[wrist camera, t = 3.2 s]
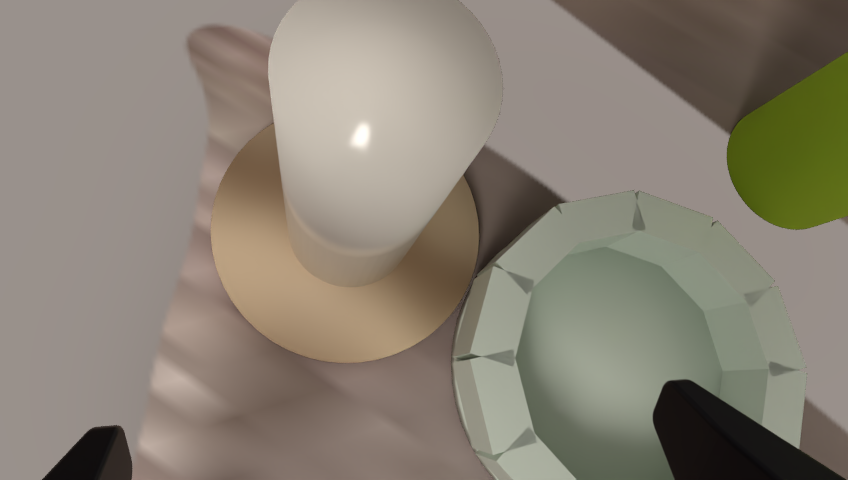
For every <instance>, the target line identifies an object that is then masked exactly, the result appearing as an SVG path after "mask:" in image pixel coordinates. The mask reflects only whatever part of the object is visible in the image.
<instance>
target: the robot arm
mask: <svg viewBox="0 0 848 480" xmlns="http://www.w3.org/2000/svg"><path fill="white" fill-rule="evenodd" d="M653 425H654V428H655V430H656V433H657V436H658V438H659V441H660V443H661V446H662V449H663V451H664V454H665V456H666V459H667V462H668V464H669V467H670V469H671V472H672V475H673V477H674V480H846V479H844V478H843V477H841V476H840V475H838V474H837V473H835V472H834V471H832V470H830V469H829V468H827V467H826V466H824V465H823V464H821V463H819V462H818V461H816V460H815V459H813V458H812V457H810V456H809V455H807V454H805V453H804V452H802V451H801V450H799V449H798V448H796V447H795V446H793V445H791V444H790V443H788V442H787V441H785V440H784V439H782V438H781V437H779V436H777V435H776V434H774V433H773V432H771V431H770V430H768V429H767V428H765V427H763V426H762V425H760V424H759V423H757V422H756V421H754V420H752V419H751V418H749V417H748V416H746V415H745V414H743V413H742V412H740V411H738V410H737V409H735V408H734V407H732V406H731V405H729V404H728V403H726V402H724V401H723V400H721V399H720V398H718V397H717V396H715V395H714V394H712V393H710V392H709V391H707V390H706V389H704V388H703V387H701V386H699V385H698V384H696V383H695V382H693V381H691V380H688V379H679V380H669V381H667V382H666V383H665V384H664V385H663V387H662V390H661V392H660V395H659V397H658V400H657V403H656V405H655V408H654V410H653ZM131 479H132V460H131V456H130V452H129V448H128V445H127V441H126V437H125V433H124V430H123V429H122V427H121V426H117V425H114V426H101V427H94V428H92V429H90V430H89V431H88V432H87V433H86V434H84V436H83V437H82V438H81V439H80V440H79V441H78V442H77V443H76V444H75V445H74V446H73V447H72V448H71V449H70V450H69V452H68V453H67V454H66V455H65V456H64V457H63V458H62V459H61V460H60V461H59V462H58V463H57V464H56V465H55V466H54V468H53V469H52V470H51V471H50V472H49V473H48V474H47V475H46V476H45V477H44V478H43V479H42V480H131Z"/></svg>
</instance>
